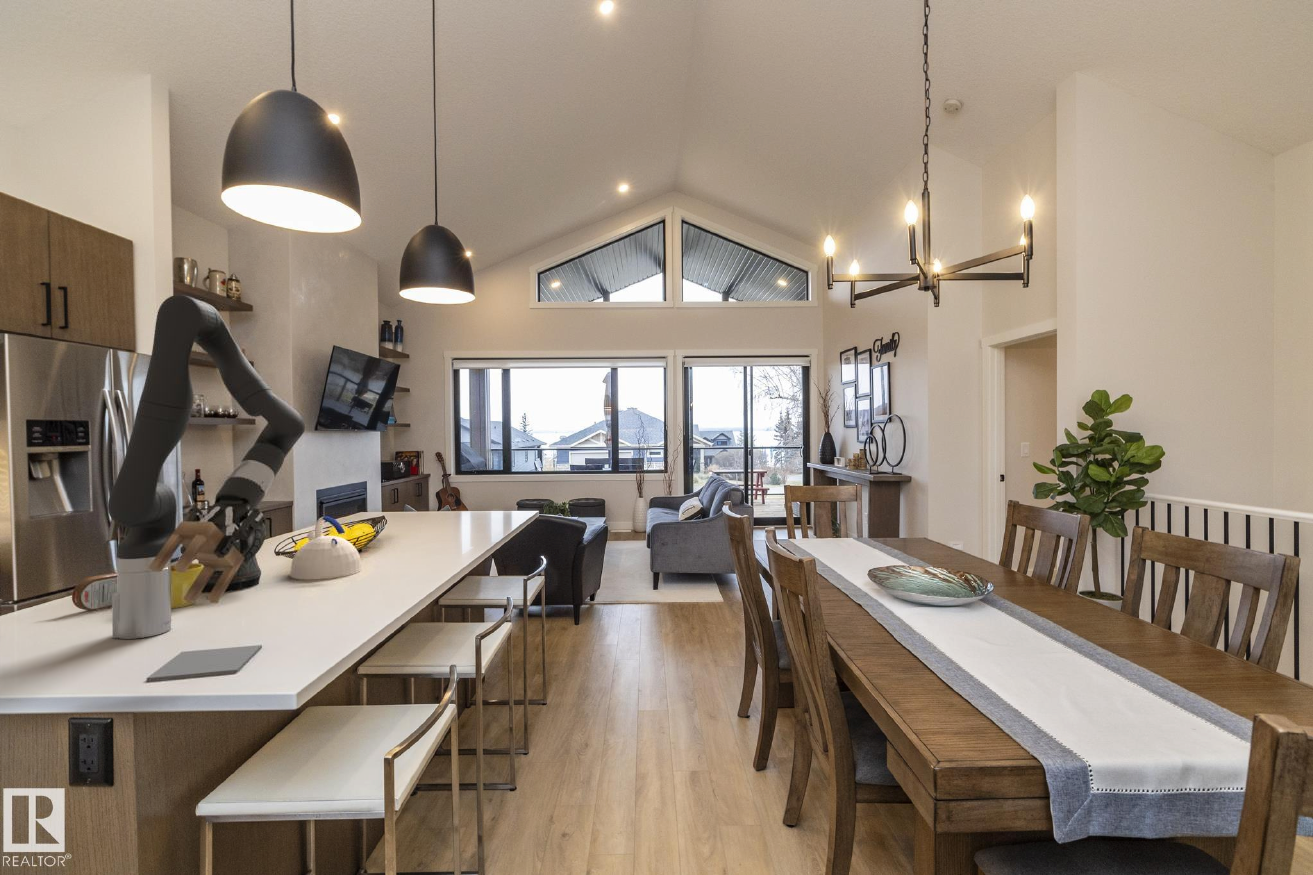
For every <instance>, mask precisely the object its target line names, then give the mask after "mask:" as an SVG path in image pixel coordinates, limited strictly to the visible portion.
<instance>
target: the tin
mask: <svg viewBox="0 0 1313 875" xmlns="http://www.w3.org/2000/svg"><path fill="white" fill-rule="evenodd" d="M116 592H117V572H111V573H106V574H100V575H94V576H90V577H87V578H84V579H83V580H81V581H80V582H79V583H78V584H77V585H76V586H75V587H74V589H73V591H72V594H71V601H72V603H73V605H74V606H75V607H76V608H78V609H80V610H85V611H89V612H90V611H92V612H93V611H100V610H103V609H108V608H110V609H111V608H112V595H113V594H114V593H116Z"/></svg>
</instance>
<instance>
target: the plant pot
mask: <svg viewBox="0 0 1313 875" xmlns="http://www.w3.org/2000/svg"><path fill="white" fill-rule="evenodd" d="M175 565H176V563H175V564H171V609H172V608H173V609H174V608H183V607H188V606H192V605H194V604H195V602H196V601H195V602H187V601H186V600H185V599H184V597H185V595H186V594H187V592H188V590H189V589H190V587H191V586H192V584H193V583H194V581H195V580H196V578H197V577H198V575H199V573H200V572H201V570H202V569H203V567H204V566H203V565H202V564H199V563H198V562H195V563H194V562H192V563H191V565H190V566H189V568H188V569H187V571H186V572H177V571H176V570H175V569H174V568H173V567H174V566H175Z"/></svg>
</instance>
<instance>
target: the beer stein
mask: <svg viewBox="0 0 1313 875" xmlns="http://www.w3.org/2000/svg"><path fill="white" fill-rule="evenodd" d="M242 523H243V522H242ZM247 529H248V528H247ZM247 529H246V530H245V531H247ZM220 531H221V532H222V533H223V535H224V536H227V535H226V529H220ZM266 537H267V528H266V525H265V523H264V520H263V521H262V522H261V523H260V525H259V526H258V527H257V528H256V530H255V531H254V532H253V534H252V535H251V536H250V537H249V539H247V540H243V539H240V540H239V541H238V542H235V543H234V545H233V546H234V547H235V548H236V549H237V550H238V551H239V552H240V553H241V554H242V556H243V557H244V558H245V559H244V560H243V562H242V564H241V565H240V567H239V569H238V570H237V572H236V574H235V575H234V577H233V579H232V580H231V582H230V584H229V585H228V587H227V588H226V590H225V592H224V593H228V592H229V593H230V592H236V590H237V591H240V590H246V589H251V588H253V587H256V586H258V585H259V584H260V579H261V575H262V570H261V568H260V566H259V564H258V560H257V556H256V554H257V553H258V552H259V551H260V550H261V549H262V546H264V545H263V544H264V542H265V539H266ZM197 563H199V564H201V563H200V562H199V561H198V562H197ZM223 572H224V571H214V573H213V574H212V576H211V577H210V579H209V580H208V582H207V584H206V585H205V587H204V588H203V590H202V592H201V593H200V594H210V593H211V591H212V590H213V588H214V586H215V585H216V583H217V581H218V580H219V578H220V577H221V575H222V573H223Z"/></svg>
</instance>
